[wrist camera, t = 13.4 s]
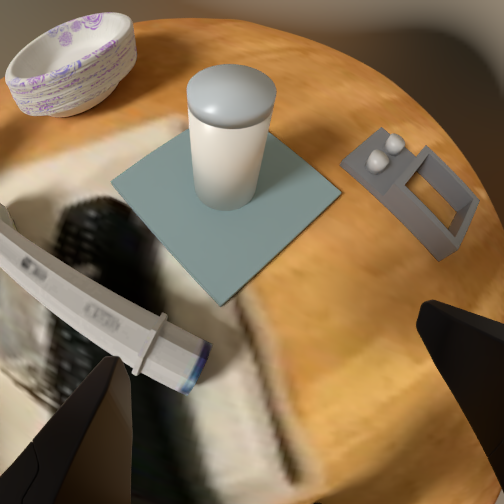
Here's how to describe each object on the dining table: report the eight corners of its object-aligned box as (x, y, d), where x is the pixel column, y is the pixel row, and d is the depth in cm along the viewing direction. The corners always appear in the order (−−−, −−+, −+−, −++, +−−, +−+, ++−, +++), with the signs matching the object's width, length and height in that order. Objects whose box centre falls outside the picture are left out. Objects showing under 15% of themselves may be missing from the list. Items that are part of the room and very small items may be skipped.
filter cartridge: (260, 166, 26) (280, 71, 16) (250, 216, 24) (270, 123, 14) (202, 156, 25) (200, 60, 16) (187, 204, 24) (174, 109, 14)
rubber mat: (339, 196, 26) (341, 192, 26) (220, 307, 22) (220, 305, 21) (230, 108, 29) (231, 104, 28) (112, 185, 24) (110, 181, 24)
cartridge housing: (463, 213, 28) (479, 200, 25) (438, 261, 25) (457, 249, 22) (378, 131, 30) (389, 113, 27) (339, 165, 27) (350, 145, 25)
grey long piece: (182, 411, 15) (-68, 220, 14) (181, 394, 22) (-31, 246, 20) (221, 332, 17) (-37, 168, 16) (209, 336, 24) (-5, 202, 22)
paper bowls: (118, 45, 33) (110, 0, 25) (161, 92, 29) (154, 32, 22) (22, 95, 28) (3, 53, 21) (37, 160, 25) (4, 108, 17)
